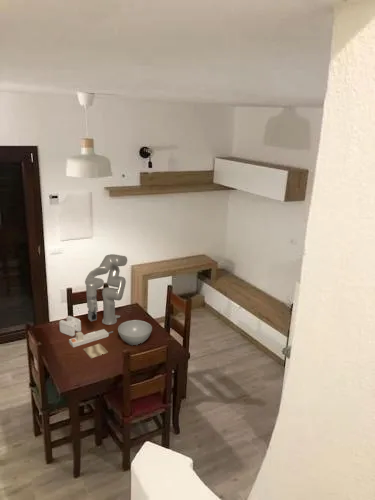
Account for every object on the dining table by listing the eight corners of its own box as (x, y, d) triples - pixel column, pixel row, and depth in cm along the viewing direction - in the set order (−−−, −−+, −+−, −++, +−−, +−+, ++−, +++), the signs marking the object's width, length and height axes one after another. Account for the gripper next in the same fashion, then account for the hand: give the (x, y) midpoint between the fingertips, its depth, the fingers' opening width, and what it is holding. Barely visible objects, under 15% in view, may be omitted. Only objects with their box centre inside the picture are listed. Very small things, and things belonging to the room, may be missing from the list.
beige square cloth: (100, 344, 319) (100, 343, 319) (108, 352, 309) (108, 351, 308) (83, 349, 311) (83, 348, 311) (91, 358, 300) (90, 357, 300)
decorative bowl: (127, 330, 341) (127, 317, 338) (156, 336, 334) (157, 323, 330) (111, 346, 317) (111, 332, 313) (143, 353, 310) (143, 339, 306)
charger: (94, 317, 325) (93, 308, 322) (96, 319, 321) (96, 311, 319) (88, 318, 322) (87, 310, 320) (90, 321, 318) (90, 312, 316)
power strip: (110, 330, 340) (110, 321, 338) (115, 334, 334) (115, 325, 332) (69, 342, 319) (68, 333, 317) (73, 347, 313) (72, 338, 311)
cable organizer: (82, 332, 335) (81, 319, 331) (73, 338, 326) (72, 325, 322) (68, 327, 341) (67, 315, 338) (59, 332, 332) (58, 320, 329)
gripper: (101, 299, 311) (101, 320, 317) (91, 291, 324) (92, 312, 330) (91, 302, 307) (92, 323, 313) (82, 293, 319) (83, 314, 325)
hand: (92, 317), depth 321 cm, fingers closed on charger, 5 cm apart
